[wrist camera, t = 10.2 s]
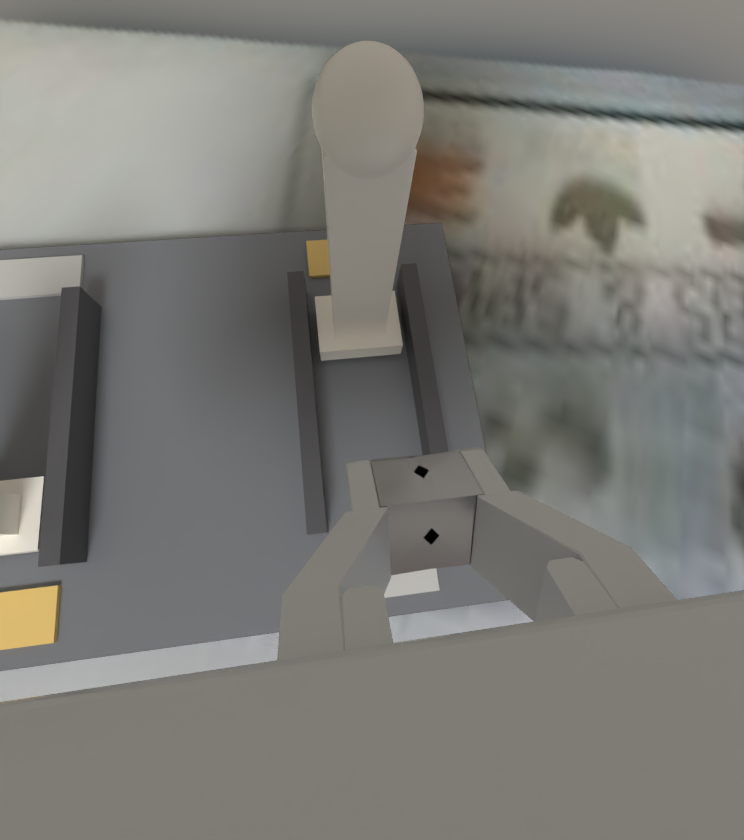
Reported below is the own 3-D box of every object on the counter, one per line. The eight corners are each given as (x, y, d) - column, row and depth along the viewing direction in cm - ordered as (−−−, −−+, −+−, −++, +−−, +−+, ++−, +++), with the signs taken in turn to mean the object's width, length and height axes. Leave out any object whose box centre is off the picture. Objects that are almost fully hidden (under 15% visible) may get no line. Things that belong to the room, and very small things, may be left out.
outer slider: (321, 360, 21) (283, 108, 9) (316, 307, 22) (275, 8, 10) (400, 353, 21) (471, 102, 9) (392, 301, 22) (448, 4, 10)
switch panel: (-113, 680, 18) (-212, 710, 15) (-46, 271, 23) (-109, 229, 20) (502, 594, 20) (531, 605, 17) (436, 240, 26) (448, 198, 22)
